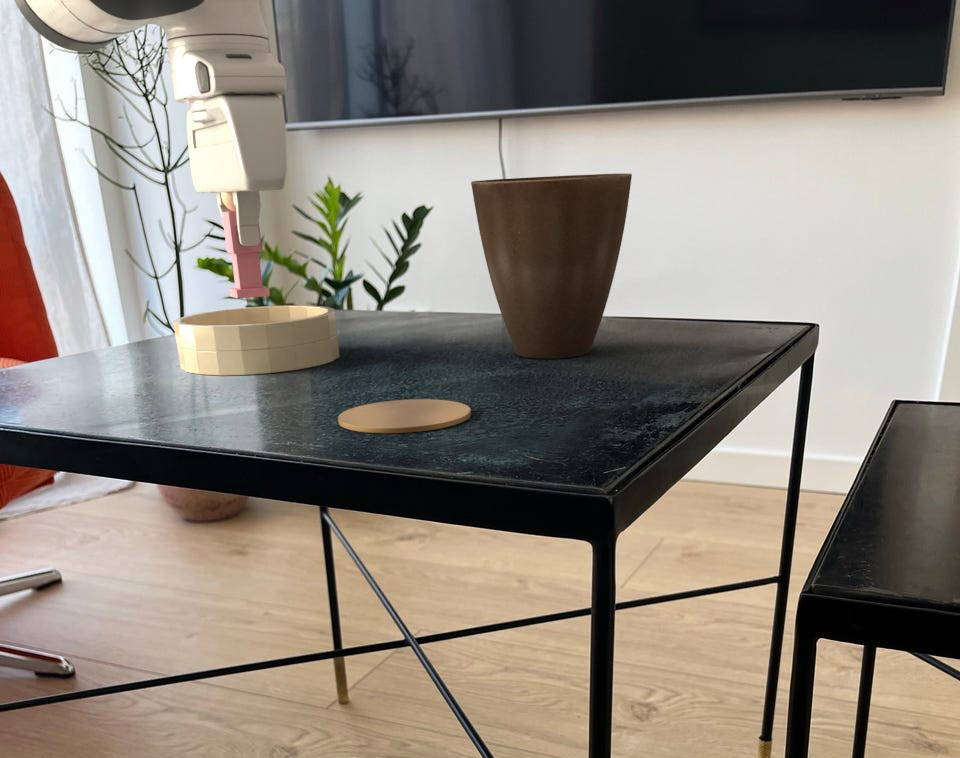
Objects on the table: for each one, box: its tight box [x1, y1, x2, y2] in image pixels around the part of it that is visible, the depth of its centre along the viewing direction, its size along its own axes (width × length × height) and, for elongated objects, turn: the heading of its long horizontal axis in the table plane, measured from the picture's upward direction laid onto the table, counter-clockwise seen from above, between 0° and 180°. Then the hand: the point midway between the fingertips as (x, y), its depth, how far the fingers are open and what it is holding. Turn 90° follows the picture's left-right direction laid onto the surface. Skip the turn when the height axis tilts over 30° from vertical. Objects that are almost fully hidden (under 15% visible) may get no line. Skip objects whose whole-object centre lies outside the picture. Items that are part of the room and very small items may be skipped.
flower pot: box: [470, 173, 633, 360], centre depth 97 cm, size 15×15×16 cm
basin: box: [172, 304, 340, 376], centre depth 100 cm, size 15×15×5 cm
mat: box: [337, 398, 472, 434], centre depth 76 cm, size 10×10×1 cm
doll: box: [221, 192, 271, 299], centre depth 96 cm, size 3×3×10 cm
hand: (243, 245), depth 96 cm, fingers closed on doll, 2 cm apart
